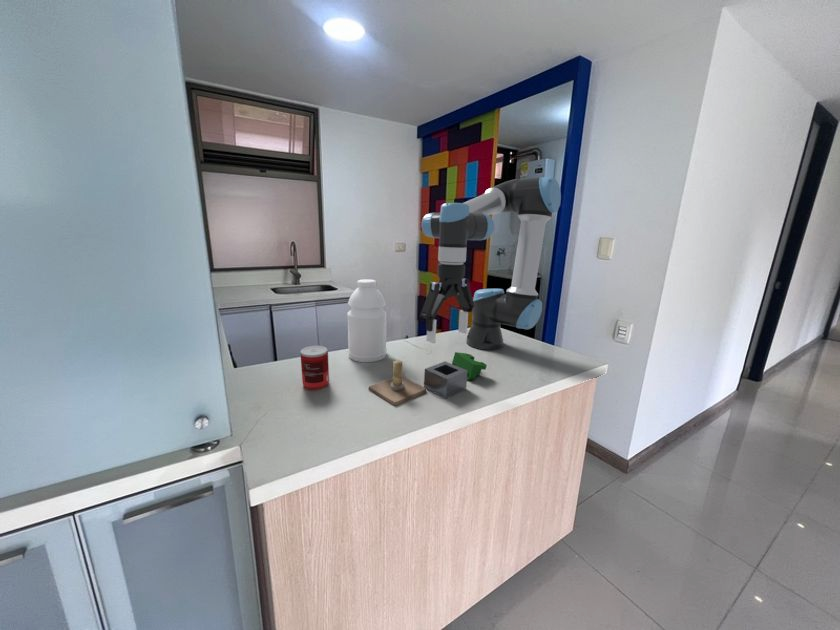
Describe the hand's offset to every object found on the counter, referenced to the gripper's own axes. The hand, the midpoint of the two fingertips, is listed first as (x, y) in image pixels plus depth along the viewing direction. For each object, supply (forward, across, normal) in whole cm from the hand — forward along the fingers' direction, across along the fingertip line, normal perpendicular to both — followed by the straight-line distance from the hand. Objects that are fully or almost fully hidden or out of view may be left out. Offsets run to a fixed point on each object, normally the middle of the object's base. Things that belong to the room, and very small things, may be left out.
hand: (447, 336), depth 96 cm
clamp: (+17, -14, -2) cm, 22 cm away
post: (+16, +12, -8) cm, 22 cm away
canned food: (+17, +28, -27) cm, 42 cm away
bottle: (+16, +3, -36) cm, 40 cm away
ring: (+16, 0, 0) cm, 16 cm away
